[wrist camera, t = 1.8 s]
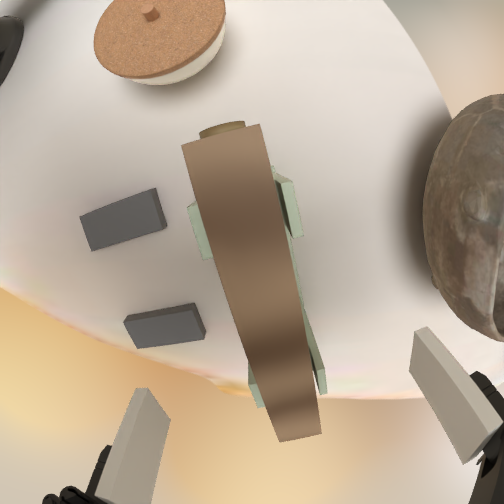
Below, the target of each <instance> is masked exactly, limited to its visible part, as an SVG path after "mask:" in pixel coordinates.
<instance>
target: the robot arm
mask: <svg viewBox="0 0 504 504" xmlns="http://www.w3.org/2000/svg"><path fill="white" fill-rule="evenodd" d="M22 35H23V23H22V21H21V20H20V19H18V18H16V17H13V16H4V17H0V85H1V83H2V82H3V80H4V79H5V77H6V75H7V73H8V71H9V70H10V68H11V66H12V64H13V61H14V59H15V57H16V54H17V52H18V49H19V46H20V43H21V40H22ZM409 372H410V373H411V375H412V376H413V378H414V379H415V381H416V383H417V384H418V386H419V387H420V389H421V391H422V392H423V394H424V396H425V397H426V399H427V401H428V402H429V404H430V406H431V407H432V409H433V411H434V412H435V414H436V416H437V418H438V419H439V421H440V423H441V424H442V426H443V428H444V430H445V432H446V433H447V435H448V437H449V439H450V440H451V442H452V444H453V446H454V448H455V450H456V452H457V454H458V456H459V458H460V460H461V461H462V463H463V465H464V464H465V463H467V462H469V461H470V460H472V459H473V458H474V457H476V456H477V455H478V454H479V453H480V452H481V451H482V450H483V452H484V454H483V455H482V456H481V458H480V459H479V460H478V462H477V464H476V465H478V464H479V463H480V462H481V461H482V462H481V466H480V470H479V474H478V477H477V480H476V483H475V486H474V489H473V492H472V495H471V498H470V501H469V503H468V504H504V398H503V397H502V395H501V394H500V393H499V392H498V391H497V390H496V388H495V387H494V385H492V383H491V382H490V380H489V379H488V378H487V377H486V376H485V375H483V374H482V373H480V372H478V371H476V372H474V373H473V374H471V375H468V374H467V372H466V371H465V370H464V369H463V367H462V366H461V365H460V364H459V362H458V361H457V360H456V359H455V358H454V356H453V355H452V354H451V353H450V352H449V351H448V349H447V348H446V347H445V346H444V345H443V344H442V342H441V341H440V340H439V339H438V338H437V337H436V336H435V334H434V333H433V332H432V331H431V330H430V329H429V328H428V327H424V328H422V329H419V330H417V331H414V340H413V348H412V355H411V361H410V367H409ZM169 424H170V418H169V417H168V415H167V414H166V413H165V411H164V410H163V409H162V407H161V406H160V405H159V403H158V402H157V400H156V399H155V397H154V396H153V394H152V393H151V391H150V390H149V389H148V388H136V389H135V392H134V394H133V396H132V398H131V401H130V403H129V406H128V408H127V410H126V413H125V415H124V418H123V420H122V422H121V425H120V427H119V430H118V433H117V435H116V438H115V440H114V443H113V445H112V446H110V445H107V446H106V447H105V448H104V449H103V451H102V452H101V453H100V456H99V459H98V462H97V464H96V466H95V469H94V472H93V474H92V477H91V480H90V482H89V485H88V488H87V490H86V492H85V493H83V492H81V491H80V490H79V489H77V488H76V487H73V486H67V487H65V488H64V489H63V490H62V491H61V492H60V496H59V497H58V496H56V495H55V494H48V495H46V496H45V497H44V499H43V502H42V504H151V500H152V496H153V491H154V487H155V482H156V478H157V473H158V469H159V465H160V461H161V457H162V453H163V448H164V444H165V440H166V437H167V433H168V429H169Z"/></svg>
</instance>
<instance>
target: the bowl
mask: <svg viewBox="0 0 504 504" xmlns="http://www.w3.org/2000/svg"><path fill="white" fill-rule="evenodd" d="M423 229H424V239H425V247H426V253H427V259H428V263H429V265H430V268H431V271H432V274H433V276H432V282H433V285H434V286H435V287H436V289H439V291H440V293H441V295H442V296H443V298H444V299H445V301H446V302H447V304H448V305H449V307H450V308H451V309H452V311H453V312H454V313H455V314H456V316H457V317H458V318H459V319H460V320H462V321H463V322H464V323H465V324H466V325H468V326H469V327H470V328H472V329H474V330H476V331H478V332H480V333H481V334H483V335H485V336H487V337H489V338H491V339H494V340H496V341H500V342H504V94H497V95H490V96H488V97H484V98H482V99H480V100H477V101H475V102H473V103H472V104H470V105H468V106H467V107H466V108H464V110H462V111H461V112H460V113H459V114H458V115H457V116H456V117H455V118H454V119H453V120H452V122H451V123H450V125H449V127H448V129H447V131H446V132H445V134H444V136H443V137H442V139H441V140H440V142H439V144H438V146H437V148H436V151H435V153H434V156H433V160H432V163H431V166H430V168H429V172H428V176H427V181H426V186H425V191H424V198H423Z"/></svg>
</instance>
